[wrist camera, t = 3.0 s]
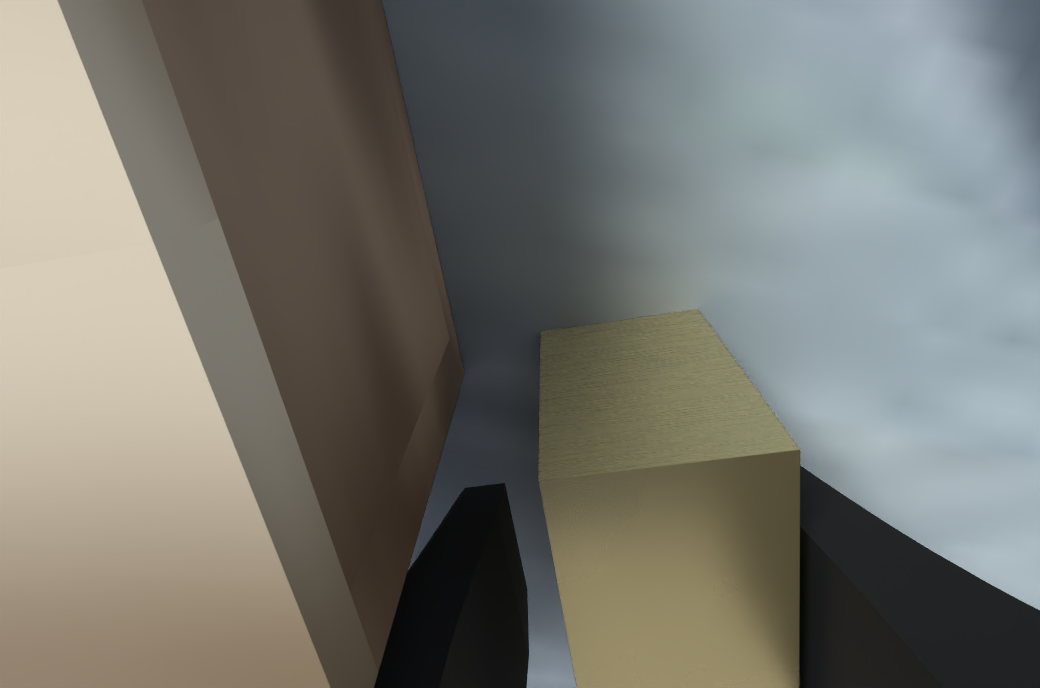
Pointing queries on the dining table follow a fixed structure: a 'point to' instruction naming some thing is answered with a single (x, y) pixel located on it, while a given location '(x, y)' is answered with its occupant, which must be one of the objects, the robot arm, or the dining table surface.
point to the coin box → (211, 343)
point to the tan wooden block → (668, 508)
